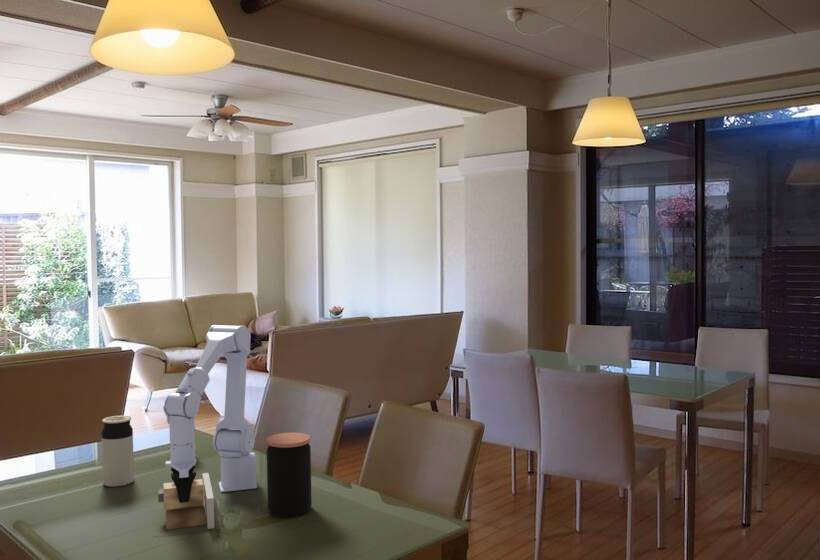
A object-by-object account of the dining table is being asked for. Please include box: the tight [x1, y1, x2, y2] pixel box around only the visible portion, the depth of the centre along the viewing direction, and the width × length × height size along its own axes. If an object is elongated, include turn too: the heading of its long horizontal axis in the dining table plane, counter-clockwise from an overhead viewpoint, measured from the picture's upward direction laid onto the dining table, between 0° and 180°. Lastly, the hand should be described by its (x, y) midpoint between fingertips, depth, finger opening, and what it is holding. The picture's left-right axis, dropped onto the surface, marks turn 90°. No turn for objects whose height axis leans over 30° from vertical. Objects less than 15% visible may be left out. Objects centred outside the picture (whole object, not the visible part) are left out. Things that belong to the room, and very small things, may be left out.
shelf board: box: [201, 472, 215, 530], centre depth 174 cm, size 2×20×7 cm, turn 19°
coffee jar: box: [266, 432, 312, 519], centre depth 176 cm, size 11×11×18 cm
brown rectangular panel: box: [165, 502, 207, 531], centre depth 173 cm, size 9×14×2 cm, turn 19°
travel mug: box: [101, 415, 135, 488], centre depth 198 cm, size 8×8×18 cm
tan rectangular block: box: [157, 478, 204, 511], centre depth 172 cm, size 10×4×5 cm, turn 109°
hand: (183, 498), depth 172 cm, fingers closed on tan rectangular block, 4 cm apart
